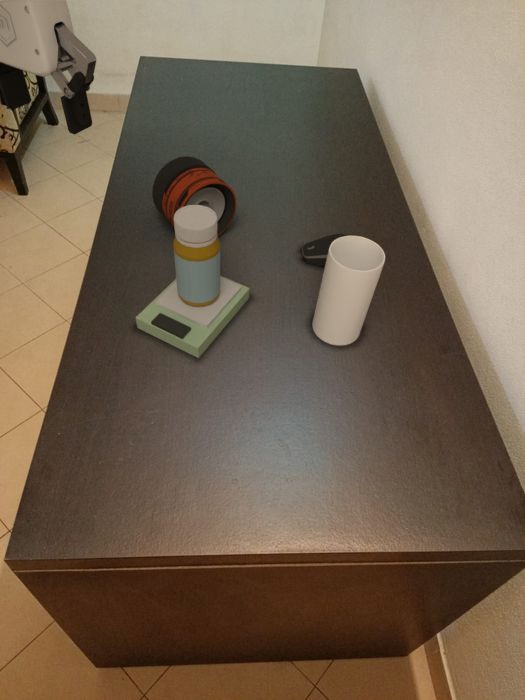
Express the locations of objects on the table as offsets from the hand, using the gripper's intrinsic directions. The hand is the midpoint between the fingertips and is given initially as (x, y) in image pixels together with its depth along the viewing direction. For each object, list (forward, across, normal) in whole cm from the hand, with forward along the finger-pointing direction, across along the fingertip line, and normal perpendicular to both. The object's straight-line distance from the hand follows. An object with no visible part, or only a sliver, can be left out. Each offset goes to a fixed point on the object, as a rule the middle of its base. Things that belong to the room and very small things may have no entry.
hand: (49, 117), depth 55 cm
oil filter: (+31, 0, +28) cm, 42 cm away
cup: (+31, +36, +18) cm, 51 cm away
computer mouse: (+31, +27, +35) cm, 54 cm away
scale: (+31, +14, +8) cm, 35 cm away
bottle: (+28, +14, +9) cm, 33 cm away
